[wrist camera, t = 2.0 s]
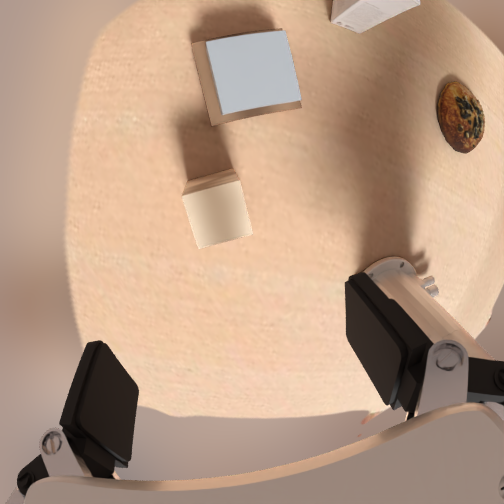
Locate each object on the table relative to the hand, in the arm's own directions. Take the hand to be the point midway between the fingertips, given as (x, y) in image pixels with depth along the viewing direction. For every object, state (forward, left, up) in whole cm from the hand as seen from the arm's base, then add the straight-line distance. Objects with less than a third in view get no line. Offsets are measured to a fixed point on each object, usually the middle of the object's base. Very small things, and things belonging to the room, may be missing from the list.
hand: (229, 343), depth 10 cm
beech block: (0, 0, -22) cm, 22 cm away
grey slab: (-6, -12, -20) cm, 24 cm away
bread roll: (-37, -5, -23) cm, 44 cm away
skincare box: (-20, -20, -23) cm, 36 cm away
